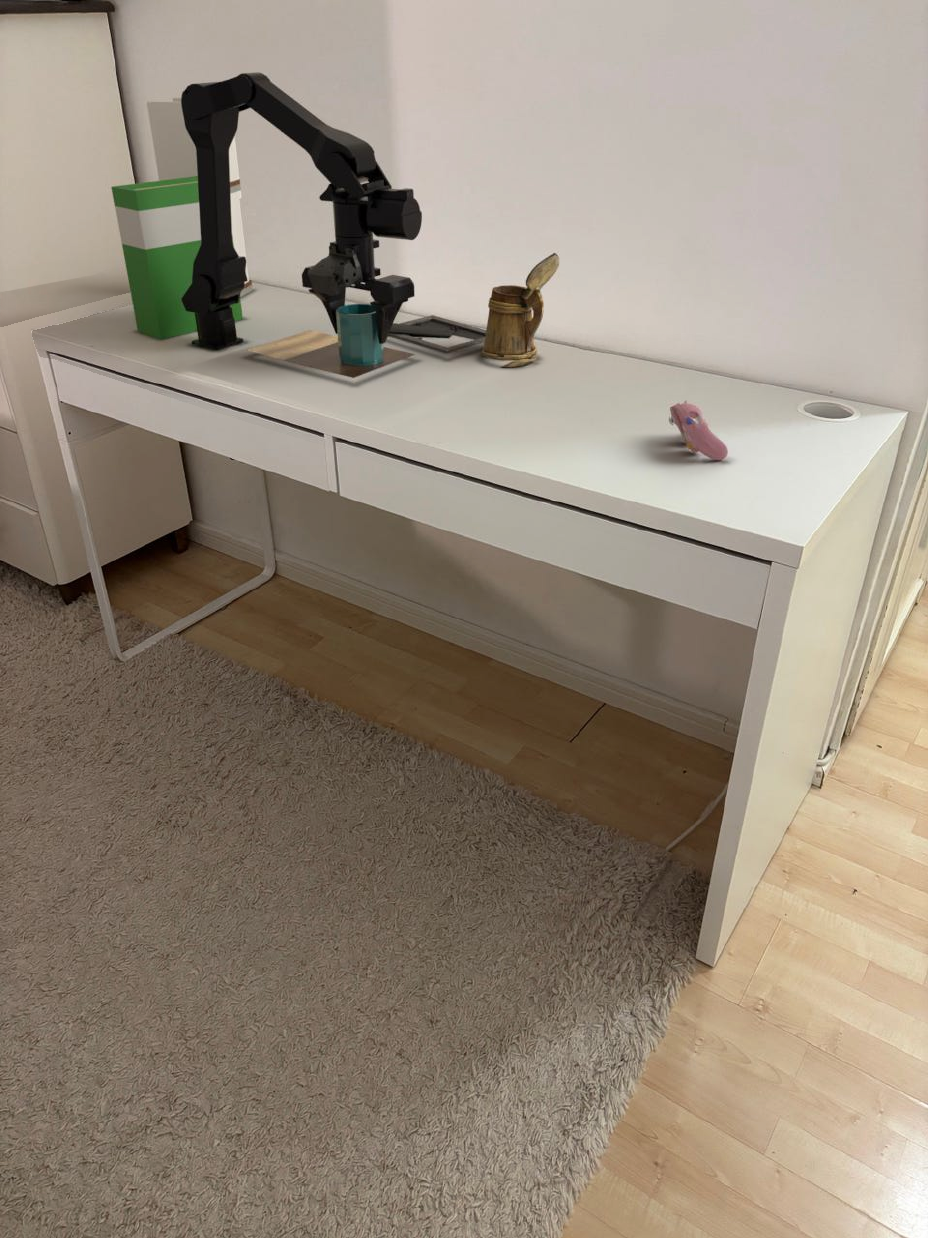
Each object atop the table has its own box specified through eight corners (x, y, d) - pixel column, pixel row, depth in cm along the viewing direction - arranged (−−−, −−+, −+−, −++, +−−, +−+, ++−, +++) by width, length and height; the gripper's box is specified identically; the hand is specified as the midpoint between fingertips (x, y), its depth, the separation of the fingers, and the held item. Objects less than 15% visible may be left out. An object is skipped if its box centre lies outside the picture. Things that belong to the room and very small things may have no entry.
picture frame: (376, 338, 167) (446, 360, 156) (376, 326, 166) (446, 348, 155) (432, 323, 175) (502, 343, 164) (432, 312, 174) (503, 332, 163)
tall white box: (252, 290, 197) (230, 98, 178) (230, 302, 188) (204, 102, 169) (202, 287, 199) (174, 97, 180) (177, 299, 190) (146, 101, 172)
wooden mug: (531, 377, 148) (535, 257, 139) (470, 359, 157) (470, 244, 147) (567, 365, 154) (574, 248, 144) (507, 347, 162) (509, 236, 152)
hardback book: (219, 312, 182) (200, 175, 169) (242, 319, 178) (225, 179, 165) (137, 331, 171) (111, 186, 158) (160, 339, 167) (135, 191, 154)
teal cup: (331, 361, 152) (327, 310, 148) (360, 350, 157) (357, 301, 152) (363, 368, 148) (360, 317, 144) (392, 358, 153) (390, 307, 149)
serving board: (246, 357, 158) (245, 350, 157) (310, 336, 168) (309, 329, 167) (354, 385, 146) (353, 377, 145) (415, 361, 156) (415, 353, 155)
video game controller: (677, 445, 129) (659, 401, 125) (708, 429, 128) (691, 385, 125) (698, 474, 121) (679, 428, 117) (732, 458, 120) (714, 411, 116)
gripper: (271, 235, 142) (282, 340, 150) (365, 250, 132) (371, 361, 141) (323, 224, 149) (330, 324, 158) (415, 238, 140) (418, 343, 148)
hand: (360, 338), depth 151 cm, fingers open, 9 cm apart
